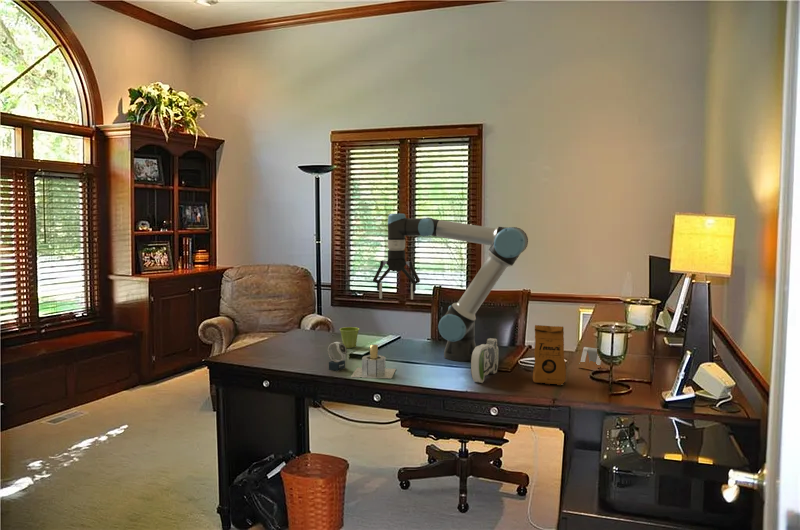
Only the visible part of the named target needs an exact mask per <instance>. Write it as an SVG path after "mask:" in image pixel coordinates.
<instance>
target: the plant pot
mask: <svg viewBox="0 0 800 530" xmlns="http://www.w3.org/2000/svg"><path fill="white" fill-rule="evenodd" d="M359 331H360V328H359V327H356V326H355V327H354V326H353V327H352V326H347V327H345V326H344V327H340V328H339V332H340V336H341V340H342V342H341V343H343V344H344V345H345V346H346V349H353V348H356V347H357V341H358V334H359Z"/></svg>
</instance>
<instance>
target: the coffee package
mask: <svg viewBox="0 0 800 530" xmlns="http://www.w3.org/2000/svg"><path fill="white" fill-rule="evenodd" d="M564 332H565V331H564V326H559V325H556V326H555V325H554V326H553V325H537V324H535V325H534V344H535V345H534V352H533V353H534V355H533V357H534V366H533V371H532V372H533V373H532V380H533V382H534V383H538V384H542V383H545V384H544V385H550V384H557V385H556V386H561V384H563V383H564V382H565V383H566V378H567V364H566V360H565V351H564V350H565V338H564V335H565V333H564ZM565 383H564V384H565ZM564 384H563V385H564Z"/></svg>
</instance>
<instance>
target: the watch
mask: <svg viewBox="0 0 800 530" xmlns="http://www.w3.org/2000/svg"><path fill="white" fill-rule="evenodd" d="M333 345H335V347H336V350H337V352H338V354H339V355H340V356H341V359H338V358H337V359H336V357H335V355H334V353H333V350H332V346H333ZM347 353H348V348H346V346H345V345H344V344H343V342H340V341H335V342H331V343H329V345H328V347H327V354H328V356H329V358H330V360H331V361H329V362H328V370H329V371H334V372H335V371H336V372H339V371H341V370H344V369H345V368H346V360H345V358H346V356H347Z"/></svg>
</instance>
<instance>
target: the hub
mask: <svg viewBox="0 0 800 530" xmlns="http://www.w3.org/2000/svg"><path fill="white" fill-rule="evenodd" d="M386 358H387V357H386V356H384V355H380V354H378V359H370V354H369V355H364V356H362V358H361V368H362V374H365V375H375V376H376V375H382V374H385V368H386Z"/></svg>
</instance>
